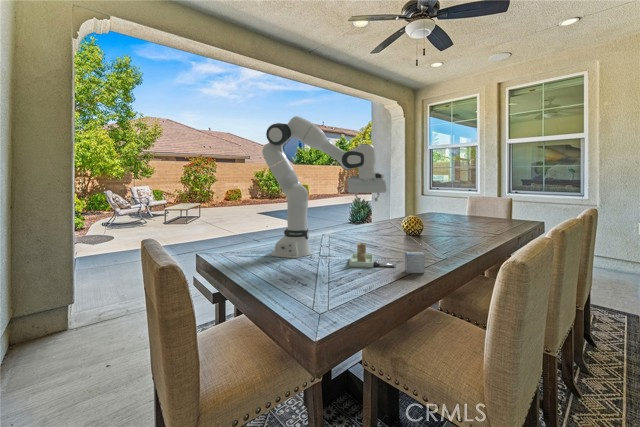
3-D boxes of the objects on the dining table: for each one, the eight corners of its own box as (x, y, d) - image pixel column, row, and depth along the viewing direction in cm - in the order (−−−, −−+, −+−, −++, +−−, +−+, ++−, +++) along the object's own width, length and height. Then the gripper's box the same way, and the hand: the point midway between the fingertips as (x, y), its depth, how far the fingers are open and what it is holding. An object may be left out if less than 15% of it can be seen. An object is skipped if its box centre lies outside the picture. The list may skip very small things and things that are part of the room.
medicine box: (422, 270, 138) (422, 251, 137) (424, 273, 134) (425, 254, 133) (404, 270, 139) (404, 251, 138) (406, 273, 135) (406, 254, 133)
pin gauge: (373, 266, 145) (373, 262, 144) (373, 265, 147) (373, 261, 146) (395, 267, 143) (395, 263, 142) (395, 266, 145) (395, 261, 144)
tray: (349, 267, 145) (349, 261, 145) (351, 258, 160) (351, 253, 160) (372, 267, 143) (372, 262, 143) (373, 258, 158) (373, 254, 158)
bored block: (357, 262, 150) (357, 244, 149) (357, 260, 154) (357, 242, 153) (365, 262, 149) (365, 244, 148) (365, 260, 153) (365, 242, 152)
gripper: (346, 175, 160) (347, 202, 162) (386, 174, 156) (386, 201, 158) (348, 175, 166) (348, 200, 168) (386, 174, 162) (386, 200, 164)
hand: (367, 201), depth 163 cm, fingers open, 8 cm apart
